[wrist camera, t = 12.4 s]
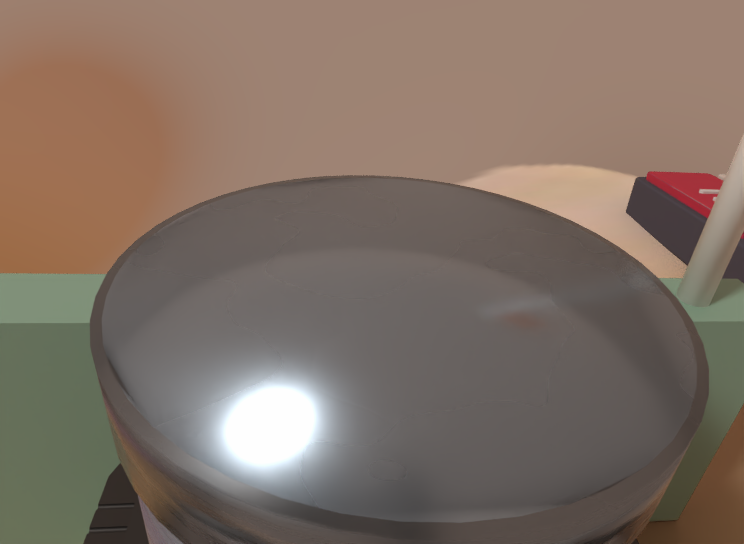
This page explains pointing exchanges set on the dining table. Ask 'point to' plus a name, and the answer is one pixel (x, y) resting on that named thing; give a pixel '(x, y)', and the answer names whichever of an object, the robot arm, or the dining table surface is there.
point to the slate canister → (392, 370)
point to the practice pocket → (92, 430)
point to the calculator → (680, 212)
